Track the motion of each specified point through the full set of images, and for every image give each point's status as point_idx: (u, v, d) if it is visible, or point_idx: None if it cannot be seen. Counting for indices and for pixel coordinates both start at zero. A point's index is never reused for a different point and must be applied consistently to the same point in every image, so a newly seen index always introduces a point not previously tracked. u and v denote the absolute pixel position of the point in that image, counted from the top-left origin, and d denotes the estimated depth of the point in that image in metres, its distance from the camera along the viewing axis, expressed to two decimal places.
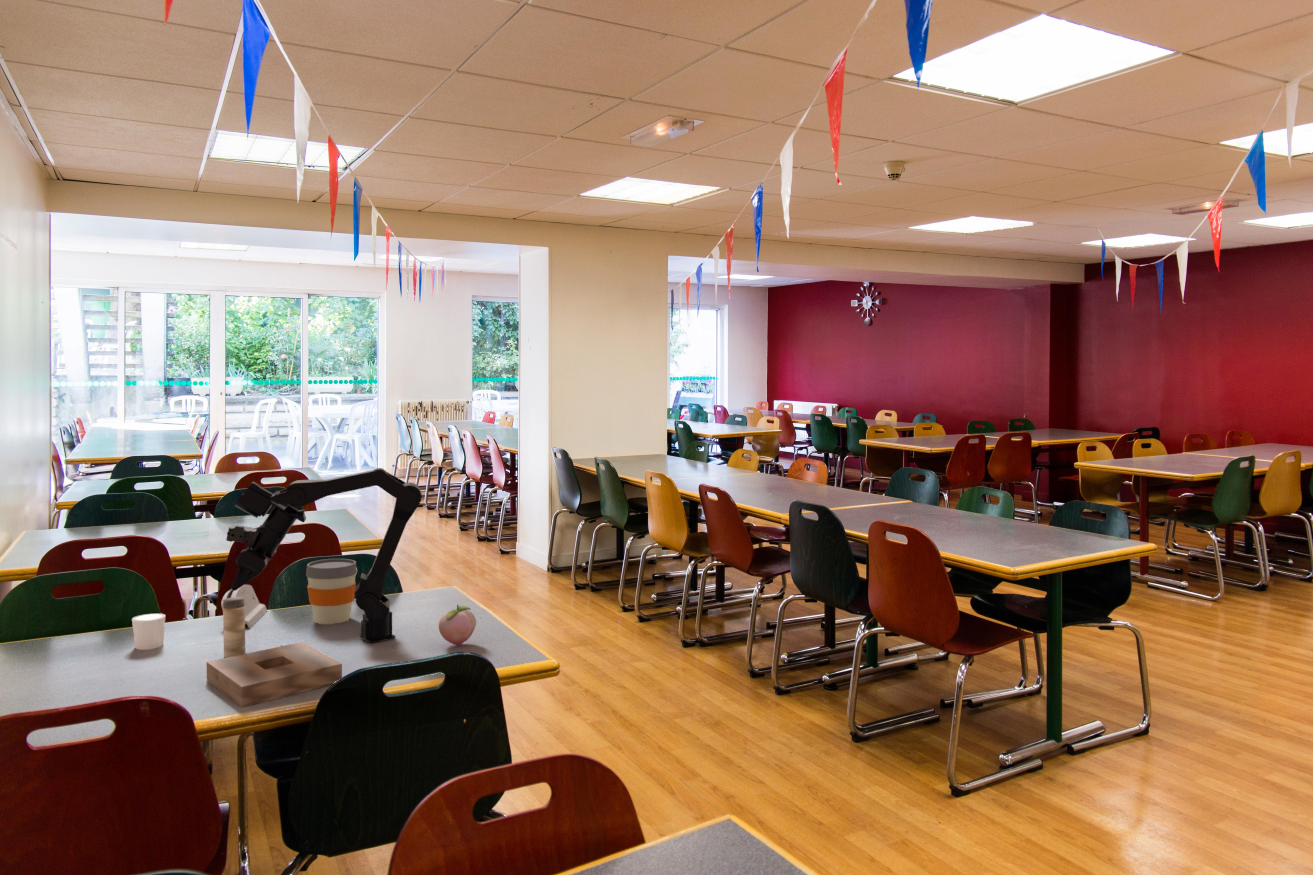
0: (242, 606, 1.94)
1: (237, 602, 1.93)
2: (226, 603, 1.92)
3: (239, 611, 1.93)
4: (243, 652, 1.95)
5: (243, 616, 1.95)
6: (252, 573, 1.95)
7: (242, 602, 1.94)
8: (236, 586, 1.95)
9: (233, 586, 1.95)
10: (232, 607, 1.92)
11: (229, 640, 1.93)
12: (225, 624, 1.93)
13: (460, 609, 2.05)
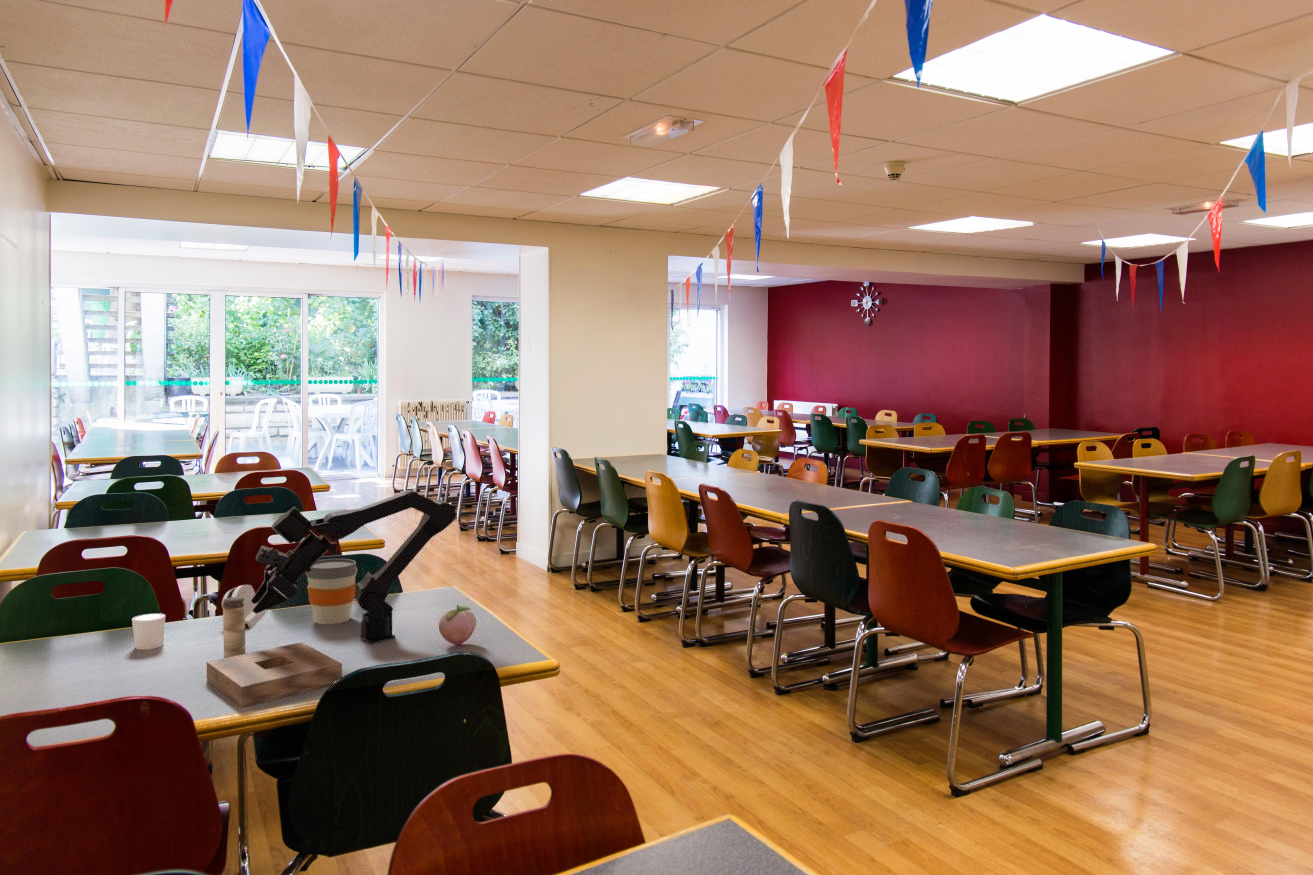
0: (242, 606, 1.94)
1: (237, 602, 1.93)
2: (226, 603, 1.92)
3: (239, 611, 1.93)
4: (243, 652, 1.95)
5: (243, 616, 1.95)
6: (279, 599, 1.93)
7: (242, 602, 1.94)
8: (258, 609, 1.92)
9: (255, 609, 1.92)
10: (232, 607, 1.92)
11: (229, 640, 1.93)
12: (225, 624, 1.93)
13: (460, 609, 2.05)
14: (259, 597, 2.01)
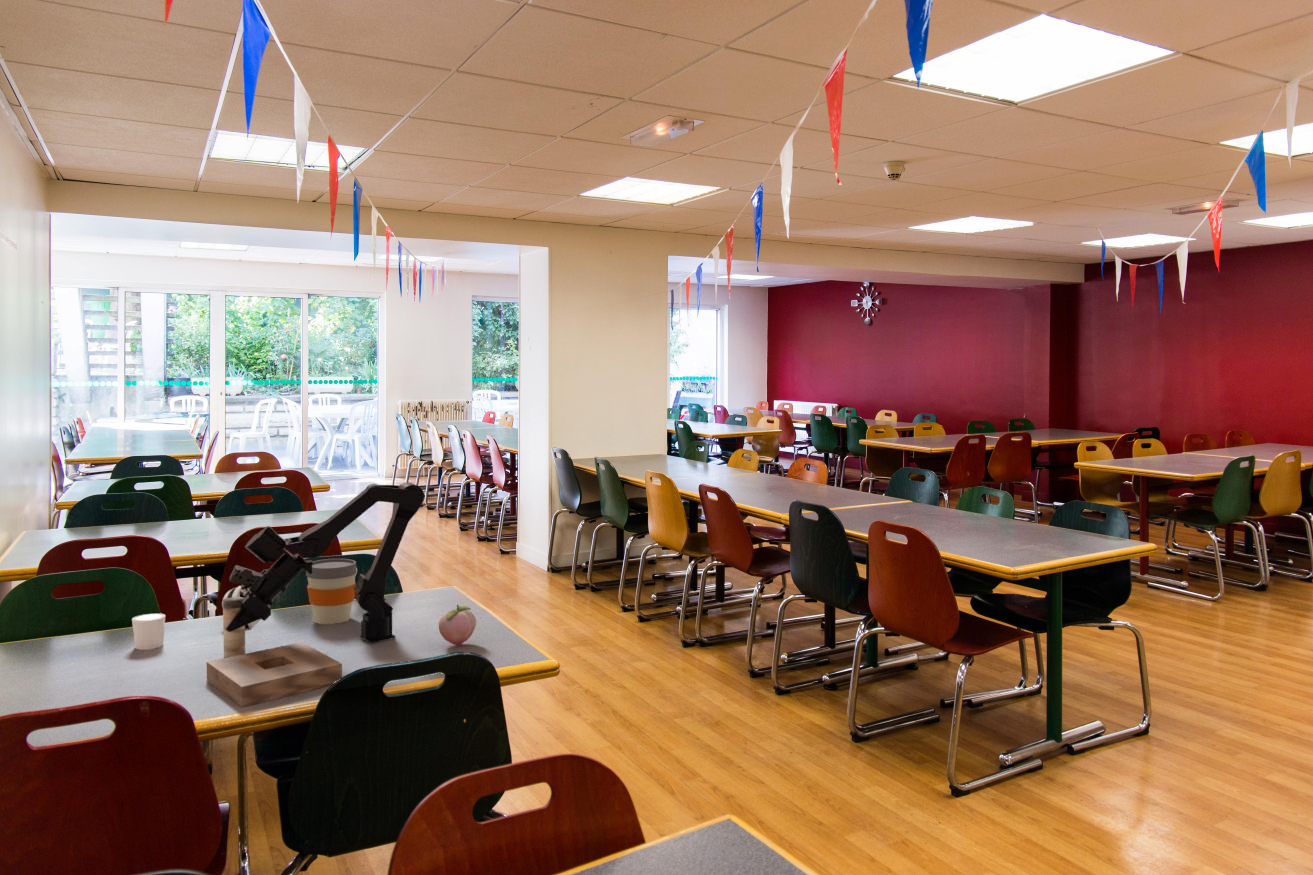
0: None
1: (237, 602, 1.93)
2: (226, 603, 1.92)
3: None
4: (243, 652, 1.95)
5: None
6: (252, 617, 1.93)
7: None
8: (232, 627, 1.92)
9: (229, 627, 1.92)
10: (232, 607, 1.92)
11: (229, 640, 1.93)
12: (225, 624, 1.93)
13: (460, 609, 2.05)
14: None
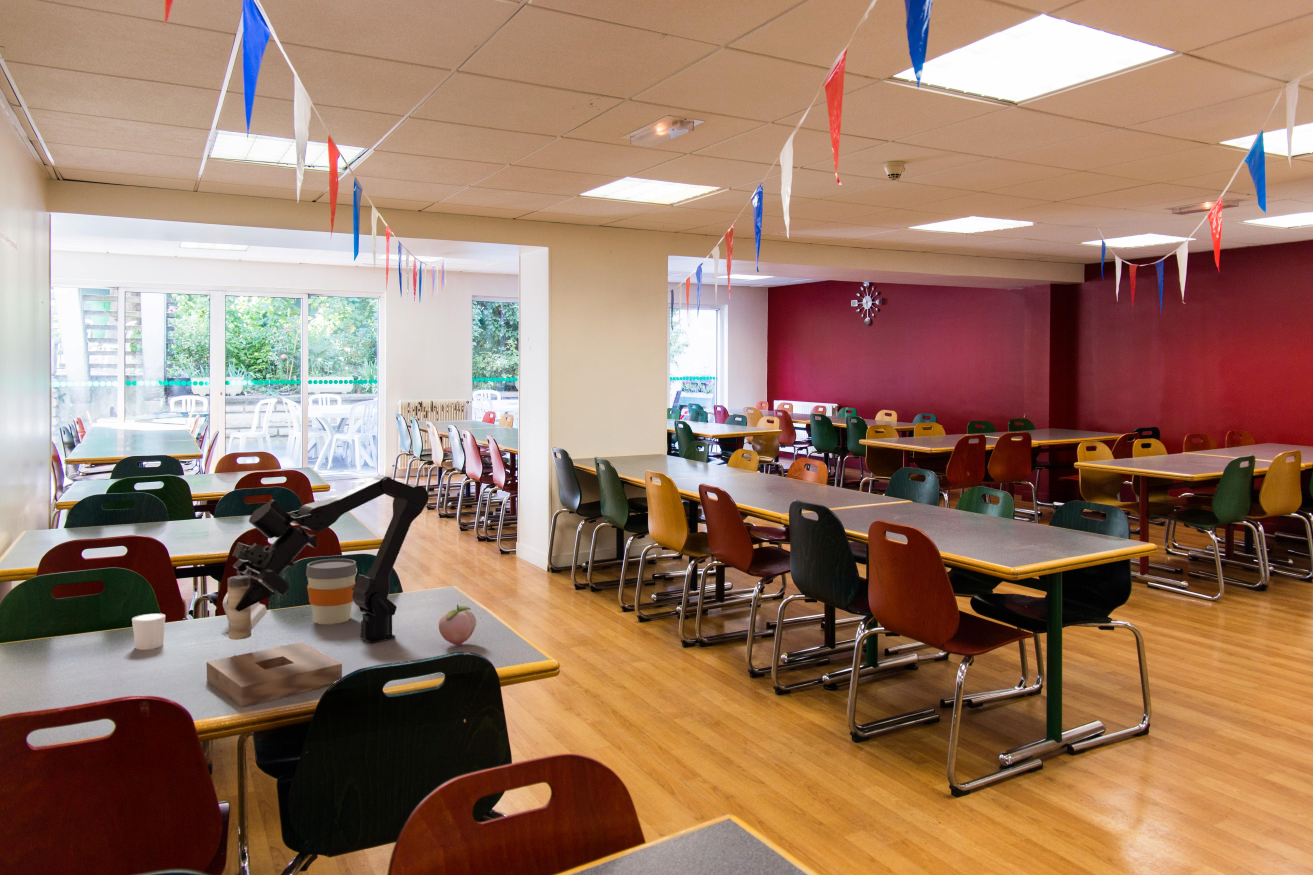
0: (249, 584, 1.86)
1: (245, 580, 1.85)
2: (234, 582, 1.84)
3: (247, 589, 1.85)
4: (250, 632, 1.87)
5: None
6: (264, 594, 1.86)
7: (249, 580, 1.86)
8: (242, 607, 1.84)
9: (239, 606, 1.83)
10: (241, 585, 1.84)
11: (238, 620, 1.84)
12: (232, 604, 1.84)
13: (460, 609, 2.05)
14: None
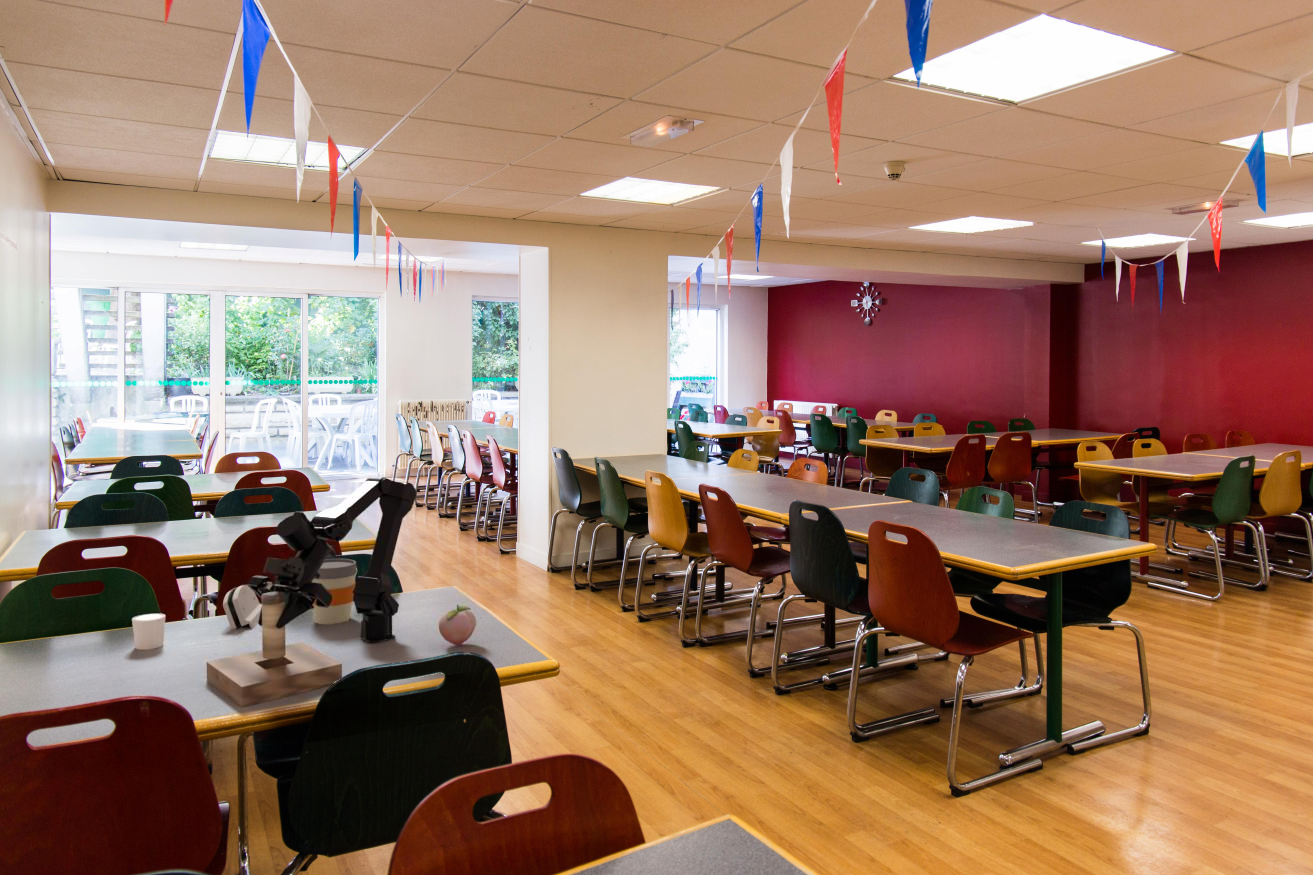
0: (284, 600, 1.79)
1: (283, 595, 1.78)
2: (273, 598, 1.76)
3: (284, 605, 1.78)
4: None
5: None
6: (302, 608, 1.80)
7: None
8: (282, 623, 1.77)
9: (280, 623, 1.76)
10: (280, 601, 1.77)
11: (277, 638, 1.77)
12: (271, 622, 1.76)
13: (460, 609, 2.05)
14: None
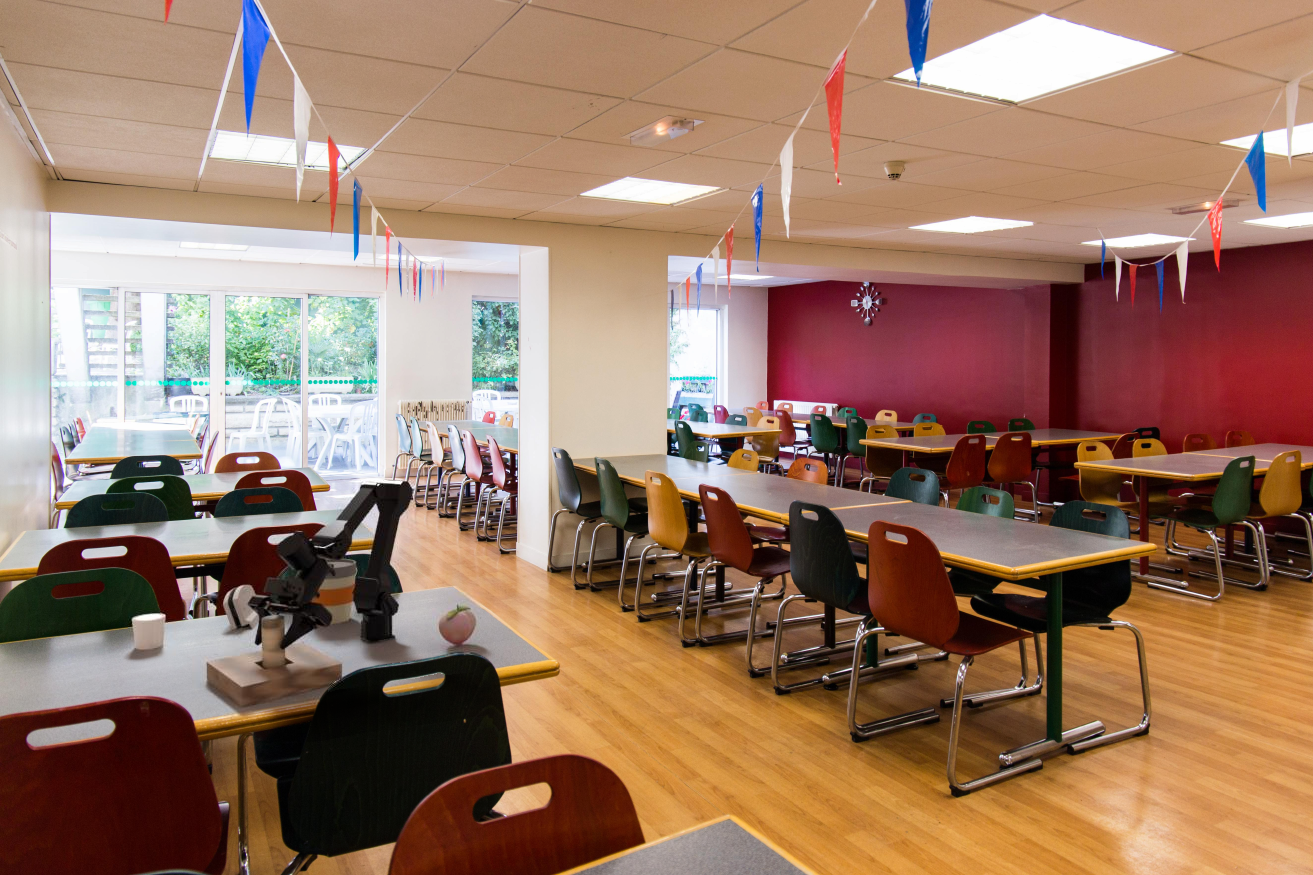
0: None
1: (283, 619, 1.78)
2: (273, 622, 1.76)
3: (284, 629, 1.79)
4: None
5: None
6: (306, 628, 1.80)
7: None
8: (286, 644, 1.77)
9: (284, 644, 1.76)
10: (280, 625, 1.77)
11: (277, 661, 1.77)
12: (271, 645, 1.76)
13: (460, 609, 2.05)
14: None
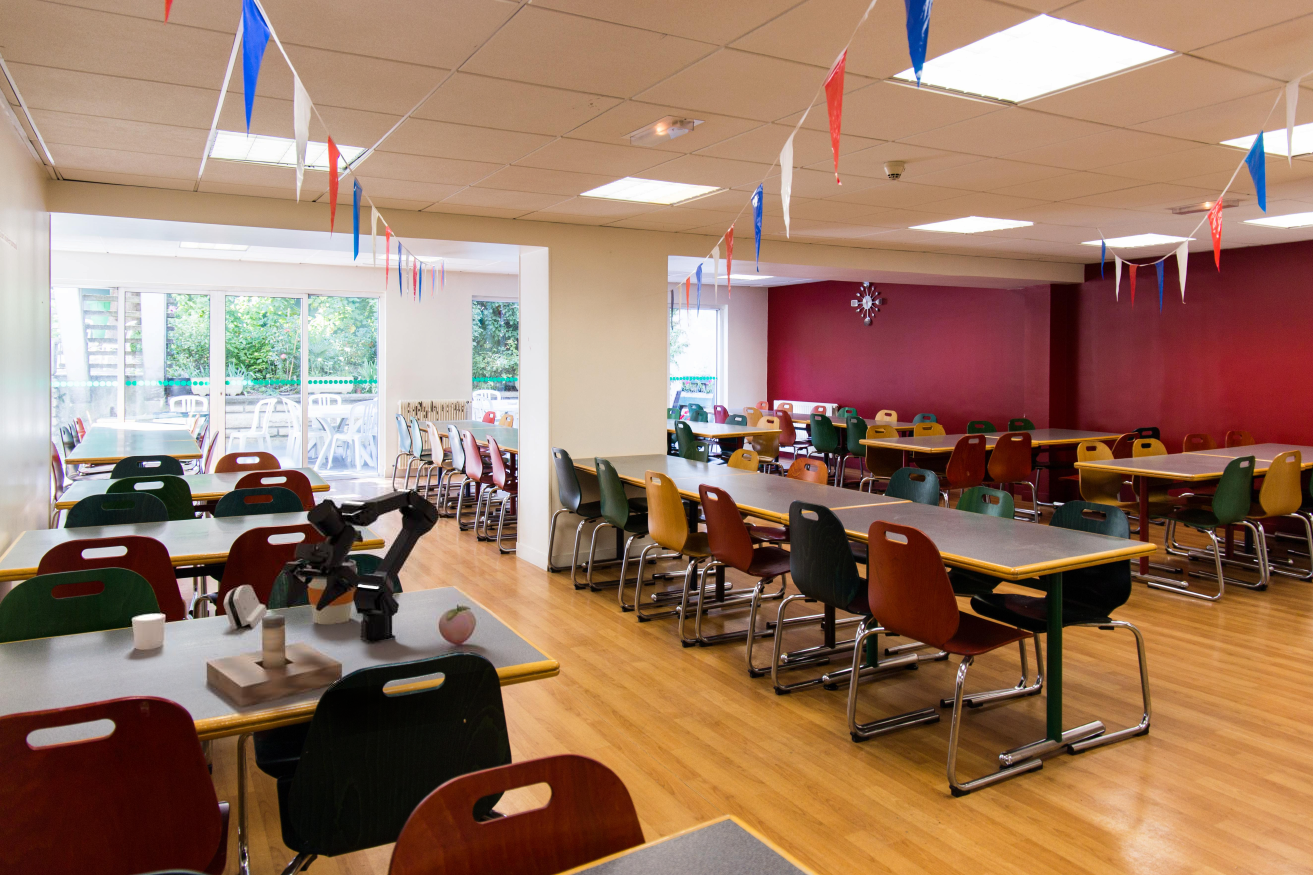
0: None
1: (283, 619, 1.78)
2: (273, 622, 1.76)
3: (284, 629, 1.79)
4: None
5: None
6: (340, 591, 1.88)
7: None
8: (322, 606, 1.85)
9: (319, 606, 1.84)
10: (280, 625, 1.77)
11: (278, 661, 1.77)
12: (271, 645, 1.76)
13: (460, 609, 2.05)
14: (292, 600, 1.89)
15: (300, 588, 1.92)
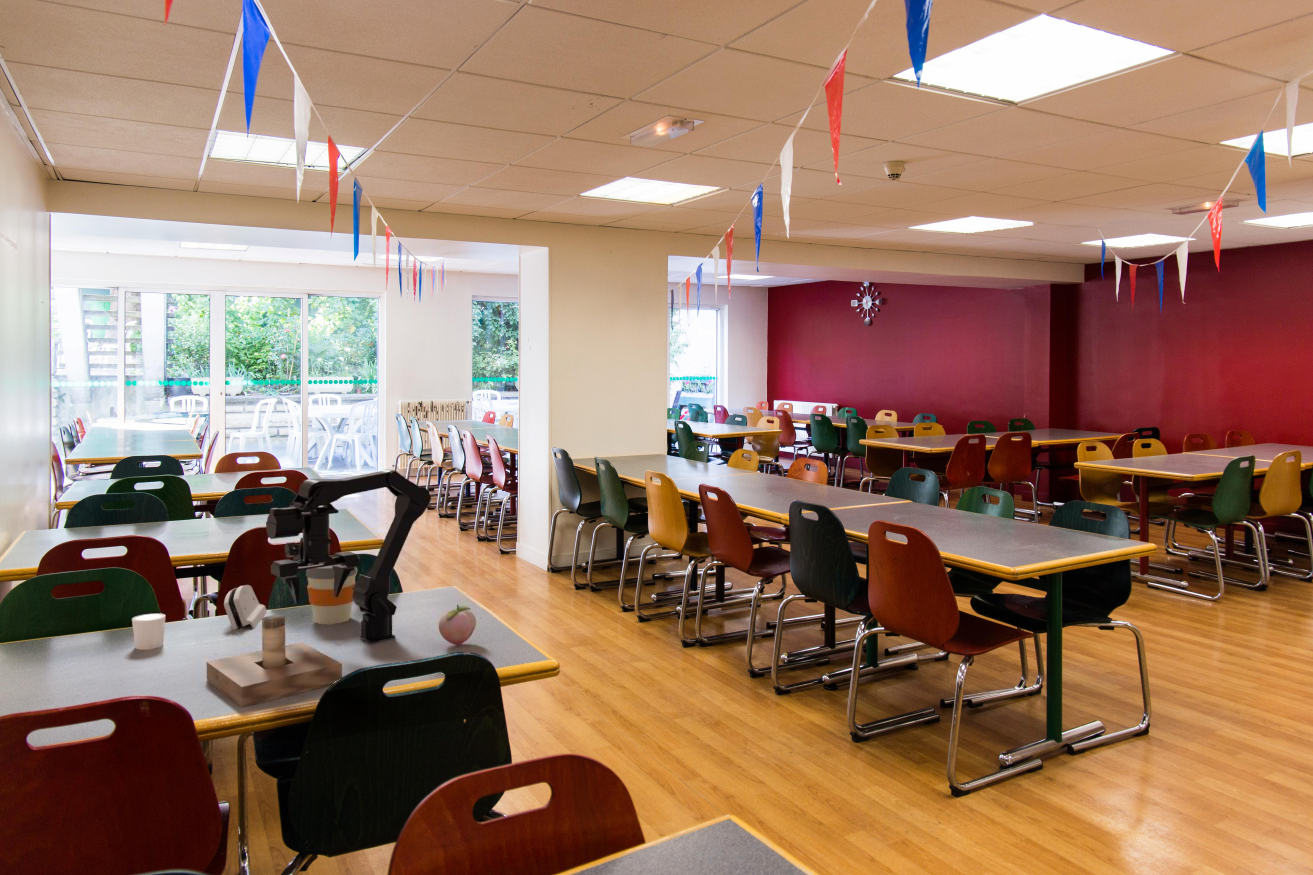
0: None
1: (283, 619, 1.78)
2: (273, 622, 1.76)
3: (284, 629, 1.79)
4: None
5: None
6: (291, 581, 1.92)
7: None
8: (294, 599, 1.95)
9: (294, 600, 1.95)
10: (280, 625, 1.77)
11: (278, 661, 1.77)
12: (271, 645, 1.76)
13: (460, 609, 2.05)
14: (335, 589, 2.01)
15: (338, 576, 2.01)
